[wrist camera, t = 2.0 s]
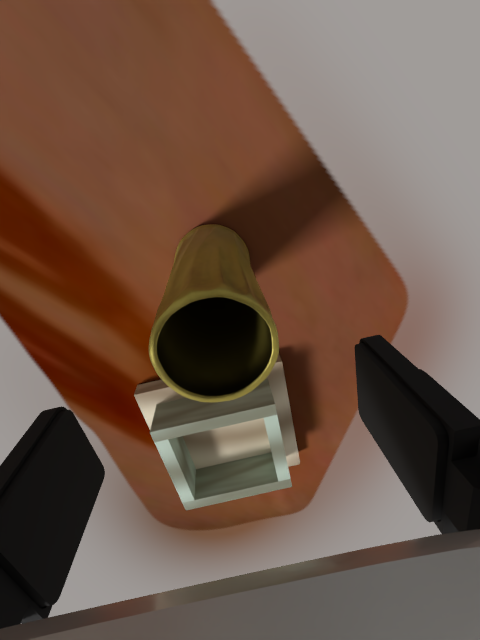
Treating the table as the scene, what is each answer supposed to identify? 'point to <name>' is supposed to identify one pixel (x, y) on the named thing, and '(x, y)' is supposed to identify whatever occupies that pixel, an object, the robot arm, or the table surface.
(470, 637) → the robot arm
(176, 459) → the vase stand
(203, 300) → the vase
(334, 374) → the table surface
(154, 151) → the table surface
